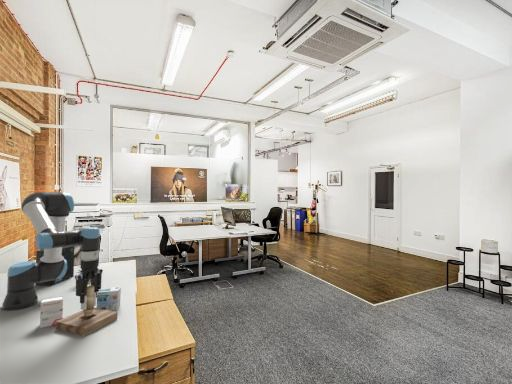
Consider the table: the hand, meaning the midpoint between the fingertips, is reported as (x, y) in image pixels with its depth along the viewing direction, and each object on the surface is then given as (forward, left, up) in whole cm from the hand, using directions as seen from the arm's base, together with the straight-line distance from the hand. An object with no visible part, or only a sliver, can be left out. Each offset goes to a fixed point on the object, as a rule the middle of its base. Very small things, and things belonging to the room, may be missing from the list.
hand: (88, 307), depth 131 cm
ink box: (-16, -6, -8) cm, 19 cm away
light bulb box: (-5, +17, -8) cm, 20 cm away
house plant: (-52, +44, -8) cm, 69 cm away
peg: (0, 0, -4) cm, 4 cm away
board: (0, 0, -8) cm, 8 cm away
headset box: (-80, +41, -8) cm, 91 cm away
